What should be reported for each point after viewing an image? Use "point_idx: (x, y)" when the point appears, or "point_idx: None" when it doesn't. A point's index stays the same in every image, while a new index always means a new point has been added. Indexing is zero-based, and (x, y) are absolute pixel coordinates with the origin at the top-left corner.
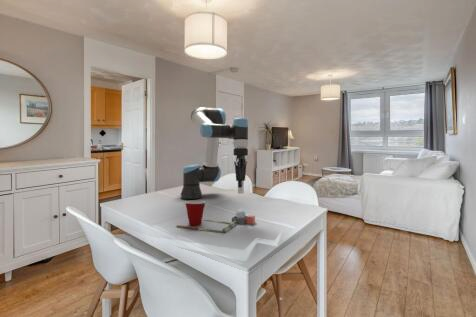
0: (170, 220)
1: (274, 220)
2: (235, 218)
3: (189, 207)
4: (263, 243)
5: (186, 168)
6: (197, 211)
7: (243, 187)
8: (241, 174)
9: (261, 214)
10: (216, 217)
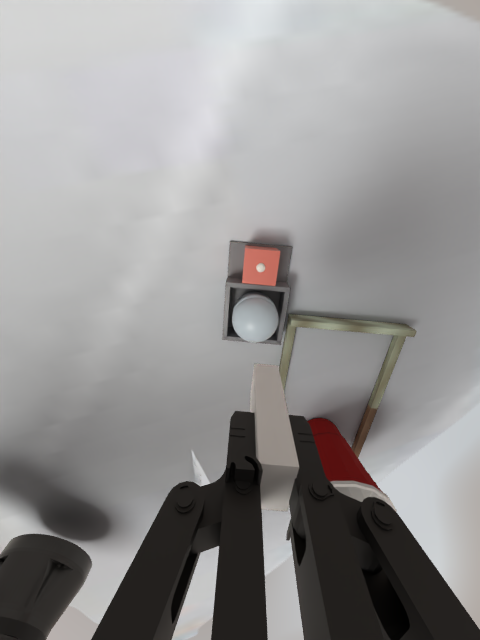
0: None
1: (159, 151)
2: (283, 328)
3: None
4: None
5: None
6: (362, 465)
7: (263, 398)
8: (376, 624)
9: (68, 249)
10: (205, 406)
